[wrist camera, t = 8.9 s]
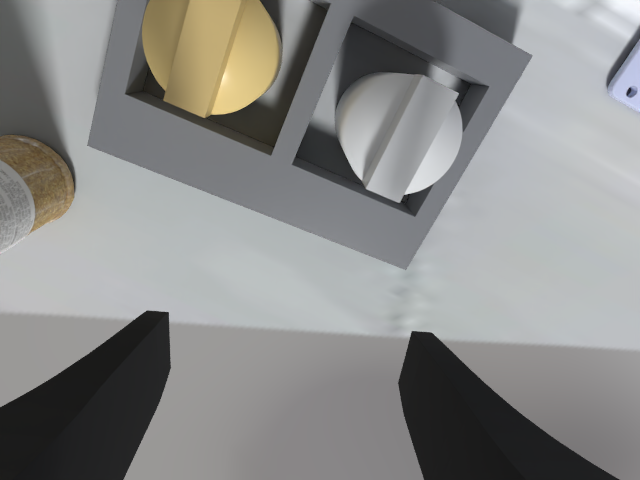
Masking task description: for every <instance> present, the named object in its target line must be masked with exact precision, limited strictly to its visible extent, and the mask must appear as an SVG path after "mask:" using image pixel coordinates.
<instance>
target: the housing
mask: <svg viewBox="0 0 640 480" xmlns="http://www.w3.org/2000/svg"><path fill="white" fill-rule="evenodd" d="M149 1H150V0H118V2H117V7H116V11H115V16H114V21H113V26H112V30H111V35H110V40H109V45H108V49H107V54H106V59H105V64H104V68H103V73H102V78H101V83H100V87H99V92H98V97H97V102H96V107H95V111H94V116H93V121H92V126H91V130H90V135H89V140H88V145H87V146H89V147H92V148H95V149H97V150H100V151H102V152H105V153H107V154H110V155H113V156H115V157H118V158H120V159H123V160H125V161H128V162H131V163H133V164H136V165H138V166H141V167H143V168H146V169H148V170H151V171H154V172H156V173H159V174H161V175H164V176H166V177H169V178H172V179H174V180H177V181H179V182H182V183H184V184H187V185H189V186H192V187H195V188H197V189H200V190H202V191H205V192H207V193H210V194H213V195H215V196H218V197H220V198H223V199H225V200H228V201H230V202H233V203H236V204H238V205H241V206H243V207H246V208H248V209H251V210H254V211H256V212H259V213H261V214H264V215H266V216H269V217H272V218H274V219H277V220H279V221H282V222H284V223H287V224H289V225H292V226H295V227H297V228H300V229H302V230H305V231H307V232H310V233H313V234H315V235H318V236H320V237H323V238H325V239H328V240H330V241H333V242H336V243H338V244H341V245H343V246H346V247H348V248H351V249H354V250H356V251H359V252H361V253H364V254H366V255H369V256H371V257H374V258H377V259H379V260H382V261H384V262H387V263H389V264H392V265H395V266H397V267H400V268H402V269H405V270H406V269H407V267H408V266H409V264H410V262H411V261H412V259H413V257H414V256H415V254H416V252H417V250H418V249H419V247H420V245H421V244H422V242H423V240H424V239H425V237H426V235H427V234H428V232H429V230H430V228H431V227H432V225H433V223H434V222H435V220H436V218H437V217H438V215H439V213H440V212H441V210H442V208H443V207H444V205H445V203H446V201H447V200H448V198H449V196H450V195H451V193H452V191H453V190H454V188H455V186H456V185H457V183H458V181H459V179H460V178H461V176H462V174H463V173H464V171H465V169H466V168H467V166H468V164H469V163H470V161H471V159H472V157H473V156H474V154H475V152H476V151H477V149H478V147H479V146H480V144H481V142H482V141H483V139H484V137H485V136H486V134H487V132H488V130H489V129H490V127H491V125H492V124H493V122H494V120H495V119H496V117H497V115H498V114H499V112H500V110H501V108H502V107H503V105H504V103H505V102H506V100H507V98H508V97H509V95H510V93H511V92H512V90H513V88H514V87H515V85H516V83H517V81H518V80H519V78H520V76H521V75H522V73H523V71H524V70H525V68H526V66H527V65H528V63H529V61H530V59H531V58H532V55H531V54H529V53H527V52H525V51H523V50H522V49H520V48H518V47H516V46H514V45H513V44H511V43H509V42H507V41H505V40H504V39H502V38H500V37H498V36H496V35H495V34H493V33H491V32H489V31H487V30H486V29H484V28H482V27H480V26H478V25H477V24H475V23H473V22H471V21H469V20H468V19H466V18H464V17H462V16H460V15H459V14H457V13H455V12H453V11H451V10H450V9H448V8H446V7H444V6H442V5H441V4H439V3H437V2H435V1H433V0H310V1H312V2H314V3H315V4H317V5H319V6H321V7H323V8H325V9H327V10H328V11H327V14H326V16H325V19H324V21H323V24H322V26H321V29H320V31H319V34H318V36H317V39H316V42H315V44H314V47H313V49H312V52H311V54H310V57H309V59H308V62H307V65H306V67H305V70H304V72H303V75H302V77H301V80H300V82H299V85H298V87H297V90H296V93H295V95H294V98H293V100H292V103H291V105H290V108H289V110H288V113H287V115H286V118H285V121H284V123H283V126H282V128H281V131H280V133H279V136H278V138H277V141H276V144H275V146H274V147H272V146H269V145H267V144H265V143H262V142H260V141H258V140H255V139H253V138H251V137H248V136H246V135H244V134H241V133H239V132H237V131H234V130H232V129H230V128H227V127H225V126H223V125H220V124H218V123H216V122H213V121H211V120H209V119H206V118H203V117H201V116H198V115H196V114H193V113H191V112H189V111H186V110H184V109H182V108H179V107H177V106H175V105H172V104H170V103H168V102H165V101H163V100H162V99H160V98H157V97H155V96H153V95H150V94H148V93H146V92H143V87H144V83H145V79H146V75H147V71H148V67H149V65H148V62H147V59H146V56H145V53H144V48H143V40H142V25H143V19H144V14H145V11H146V8H147V5H148V3H149ZM351 22H352V23H354V24H356V25H358V26H360V27H362V28H364V29H366V30H368V31H370V32H371V33H373V34H375V35H377V36H379V37H381V38H383V39H385V40H387V41H389V42H391V43H393V44H395V45H397V46H399V47H400V48H402V49H404V50H406V51H408V52H410V53H412V54H414V55H416V56H418V57H420V58H422V59H424V60H426V61H427V62H429V63H431V64H433V65H435V66H437V67H439V68H441V69H443V70H445V71H447V72H449V73H451V74H453V75H455V76H456V77H458V78H460V79H462V80H464V81H466V82H468V83H470V84H471V86H470V88H469V89H468V91H467V93H466V95H465V97H464V99H463V100H462V102H461V104H460V106H459V110H460V114H461V118H462V130H463V132H462V140H461V145H460V148H459V151H458V154H457V156H456V158H455V160H454V162H453V163H452V165H451V166H450V168H449V169H448V170H447V172H446V173H445V174H444V175H443V176H442V177H441V178H440V179H439V180H438V181H436V182H435V183H434V184H432V185H430V186H429V187H427V188H425V189H423V190H421V191H418V192H415V193H411V195H410V197H409V198H408V200H407V202H406V204H405V203H402V202H400V203H398V202H395V201H393V200H391V199H388V198H386V197H384V196H381V195H379V194H377V193H374V192H372V191H370V190H367V189H366V188H365V186H363V185H360V184H358V183H356V182H353V181H351V180H349V179H346V178H344V177H342V176H339V175H337V174H335V173H332V172H330V171H328V170H325V169H323V168H321V167H318V166H316V165H314V164H311V163H309V162H307V161H304V160H302V159H300V158H297V157H295V156H296V153H297V151H298V148H299V146H300V144H301V141H302V139H303V136H304V134H305V132H306V129H307V127H308V124H309V122H310V120H311V117H312V115H313V112H314V110H315V108H316V105H317V103H318V100H319V98H320V96H321V93H322V91H323V88H324V86H325V84H326V81H327V79H328V76H329V74H330V72H331V69H332V67H333V64H334V62H335V60H336V57H337V55H338V52H339V50H340V48H341V45H342V43H343V40H344V38H345V36H346V33H347V31H348V28H349V26H350V24H351Z"/></svg>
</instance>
